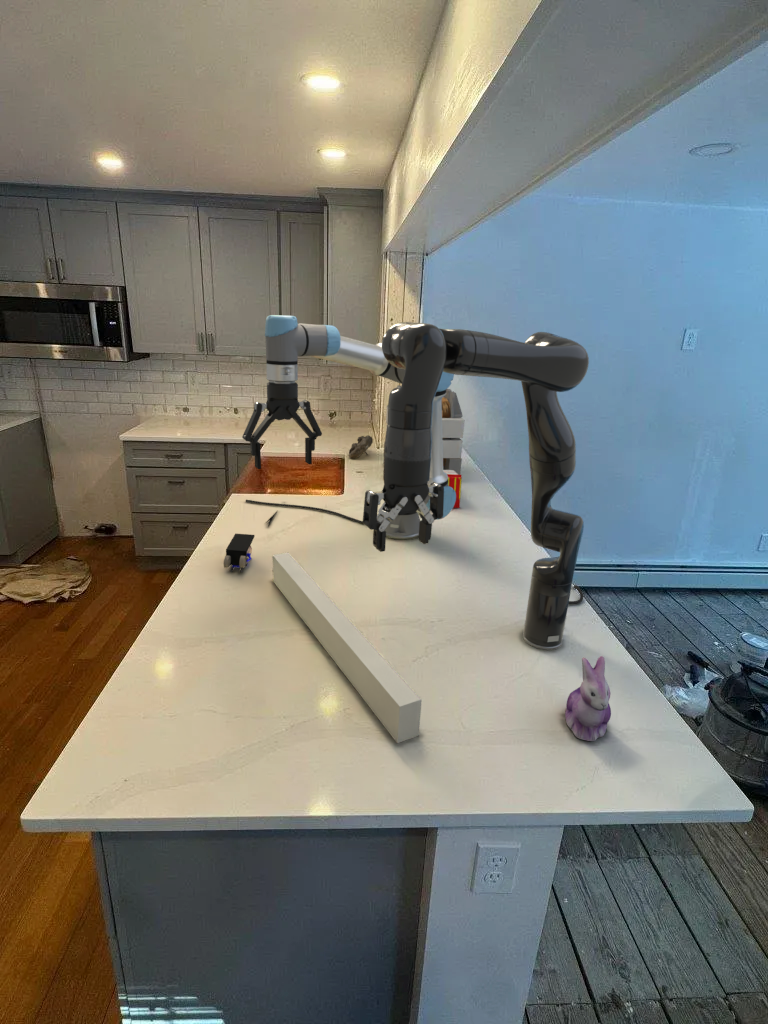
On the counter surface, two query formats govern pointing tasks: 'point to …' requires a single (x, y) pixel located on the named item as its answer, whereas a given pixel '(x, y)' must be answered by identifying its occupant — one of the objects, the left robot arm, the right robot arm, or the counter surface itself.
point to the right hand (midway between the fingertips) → (402, 546)
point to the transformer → (450, 431)
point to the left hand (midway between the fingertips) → (283, 465)
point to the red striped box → (454, 485)
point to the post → (350, 651)
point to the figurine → (590, 703)
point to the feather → (271, 519)
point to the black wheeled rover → (238, 551)
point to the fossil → (360, 446)
